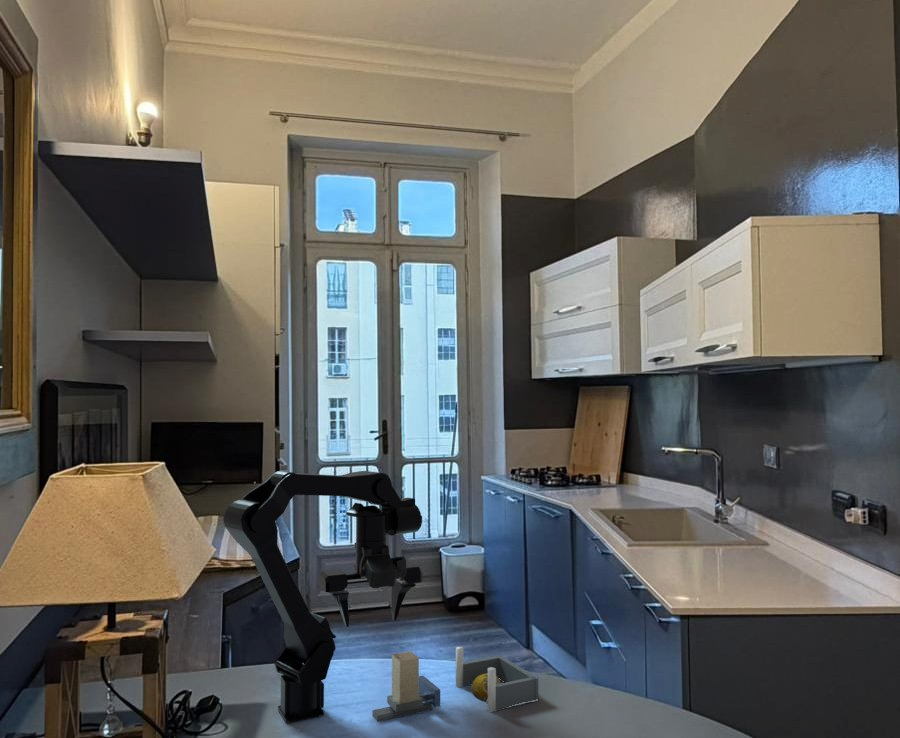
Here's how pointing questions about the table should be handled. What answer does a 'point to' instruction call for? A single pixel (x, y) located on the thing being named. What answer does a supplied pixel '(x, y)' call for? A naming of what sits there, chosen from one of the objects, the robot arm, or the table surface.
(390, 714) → the rail
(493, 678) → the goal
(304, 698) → the robot arm
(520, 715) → the table surface
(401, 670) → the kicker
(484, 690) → the fruit
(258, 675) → the table surface
